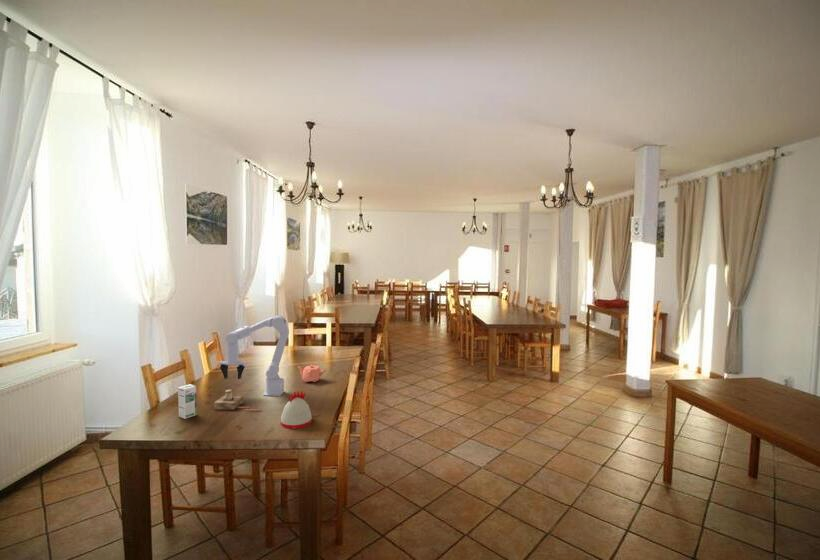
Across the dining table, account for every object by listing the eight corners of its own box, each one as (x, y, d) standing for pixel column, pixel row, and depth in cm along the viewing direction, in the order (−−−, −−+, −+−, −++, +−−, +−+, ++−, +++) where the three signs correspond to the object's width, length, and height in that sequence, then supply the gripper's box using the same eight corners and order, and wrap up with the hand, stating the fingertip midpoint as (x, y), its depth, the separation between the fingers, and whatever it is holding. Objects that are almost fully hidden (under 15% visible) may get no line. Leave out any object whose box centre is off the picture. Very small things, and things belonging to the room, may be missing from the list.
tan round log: (233, 404, 202) (233, 389, 201) (230, 407, 199) (230, 391, 198) (227, 404, 202) (227, 389, 201) (224, 406, 199) (224, 391, 198)
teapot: (317, 376, 252) (317, 361, 251) (326, 381, 243) (326, 365, 242) (296, 381, 243) (296, 365, 242) (305, 385, 234) (305, 369, 233)
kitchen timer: (315, 424, 179) (315, 392, 179) (285, 431, 172) (285, 398, 171) (306, 414, 191) (306, 384, 190) (277, 420, 184) (277, 389, 183)
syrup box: (184, 419, 183) (184, 389, 182) (178, 416, 186) (177, 386, 185) (196, 415, 188) (196, 385, 187) (190, 412, 191) (189, 383, 190)
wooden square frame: (242, 402, 205) (242, 396, 205) (233, 409, 195) (233, 403, 195) (224, 402, 205) (224, 395, 205) (214, 409, 195) (214, 402, 195)
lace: (264, 408, 197) (264, 407, 197) (261, 411, 194) (261, 410, 193) (234, 407, 198) (234, 406, 198) (231, 410, 194) (231, 409, 194)
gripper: (248, 352, 217) (248, 376, 218) (223, 352, 217) (223, 375, 218) (242, 355, 210) (243, 380, 210) (216, 355, 210) (216, 379, 211)
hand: (232, 378), depth 214 cm, fingers open, 7 cm apart
